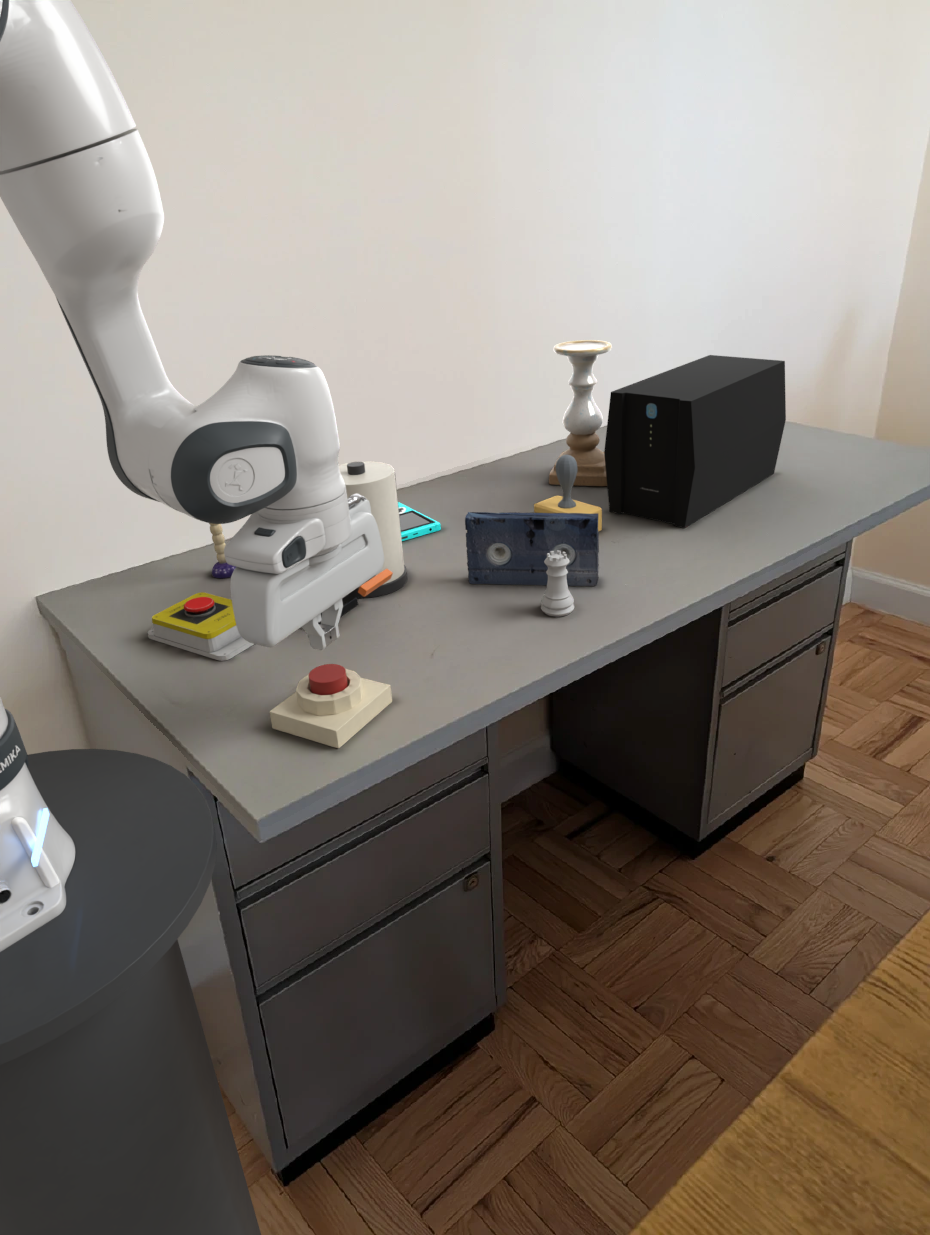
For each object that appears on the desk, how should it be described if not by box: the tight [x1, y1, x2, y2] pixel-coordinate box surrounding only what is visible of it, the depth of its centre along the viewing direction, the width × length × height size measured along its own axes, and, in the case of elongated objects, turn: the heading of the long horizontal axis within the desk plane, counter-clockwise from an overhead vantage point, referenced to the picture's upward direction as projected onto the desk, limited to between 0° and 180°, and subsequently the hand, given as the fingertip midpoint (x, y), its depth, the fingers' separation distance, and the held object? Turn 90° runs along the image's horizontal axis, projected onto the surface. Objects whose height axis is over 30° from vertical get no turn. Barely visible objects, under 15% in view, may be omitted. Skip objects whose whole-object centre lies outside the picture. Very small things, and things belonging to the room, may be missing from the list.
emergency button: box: [147, 591, 255, 662], centre depth 117 cm, size 9×4×15 cm
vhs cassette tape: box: [464, 511, 600, 587], centre depth 124 cm, size 18×3×10 cm, turn 78°
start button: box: [308, 663, 348, 695], centre depth 97 cm, size 4×4×2 cm
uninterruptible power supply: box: [603, 354, 787, 529], centre depth 152 cm, size 16×34×20 cm, turn 138°
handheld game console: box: [398, 501, 442, 542], centre depth 150 cm, size 10×16×1 cm, turn 33°
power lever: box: [358, 569, 393, 597], centre depth 116 cm, size 14×6×2 cm, turn 60°
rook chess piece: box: [540, 551, 575, 618], centre depth 116 cm, size 4×4×8 cm
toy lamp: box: [208, 523, 236, 579], centre depth 133 cm, size 5×5×17 cm
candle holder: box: [548, 339, 613, 487], centre depth 162 cm, size 11×11×24 cm
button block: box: [269, 668, 393, 749], centre depth 98 cm, size 10×9×4 cm
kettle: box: [339, 460, 408, 599], centre depth 126 cm, size 14×11×18 cm
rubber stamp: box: [533, 455, 603, 532], centre depth 142 cm, size 10×6×12 cm, turn 41°
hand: (325, 643), depth 95 cm, fingers closed
